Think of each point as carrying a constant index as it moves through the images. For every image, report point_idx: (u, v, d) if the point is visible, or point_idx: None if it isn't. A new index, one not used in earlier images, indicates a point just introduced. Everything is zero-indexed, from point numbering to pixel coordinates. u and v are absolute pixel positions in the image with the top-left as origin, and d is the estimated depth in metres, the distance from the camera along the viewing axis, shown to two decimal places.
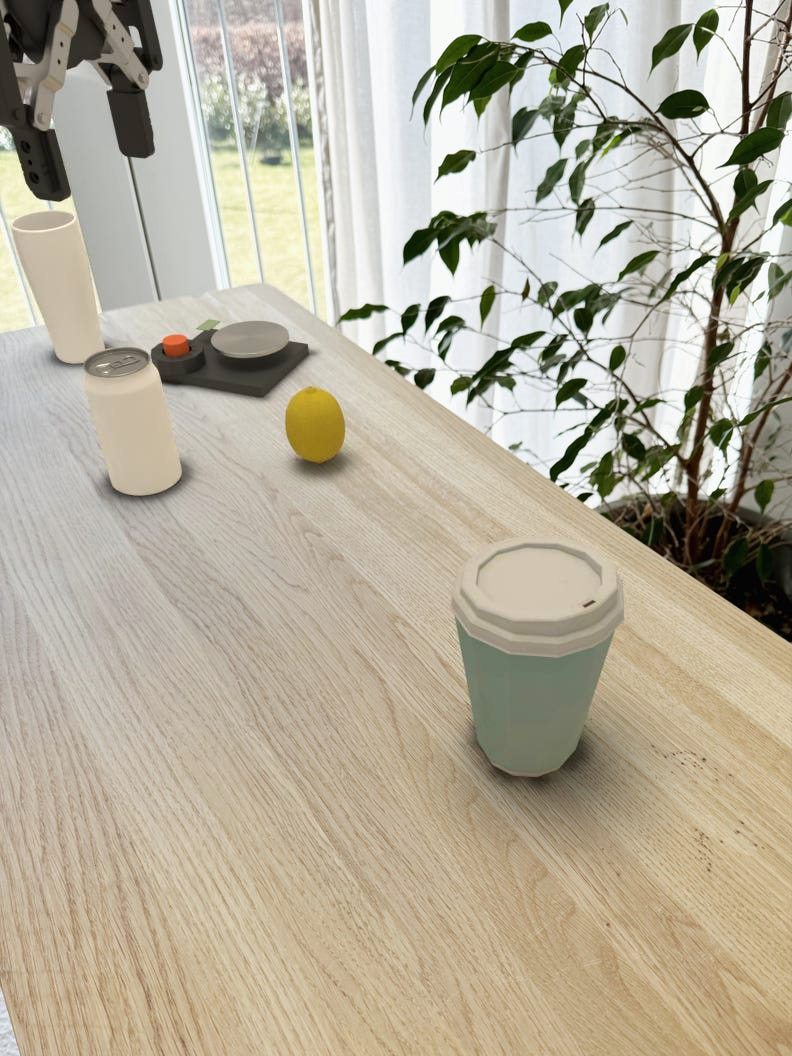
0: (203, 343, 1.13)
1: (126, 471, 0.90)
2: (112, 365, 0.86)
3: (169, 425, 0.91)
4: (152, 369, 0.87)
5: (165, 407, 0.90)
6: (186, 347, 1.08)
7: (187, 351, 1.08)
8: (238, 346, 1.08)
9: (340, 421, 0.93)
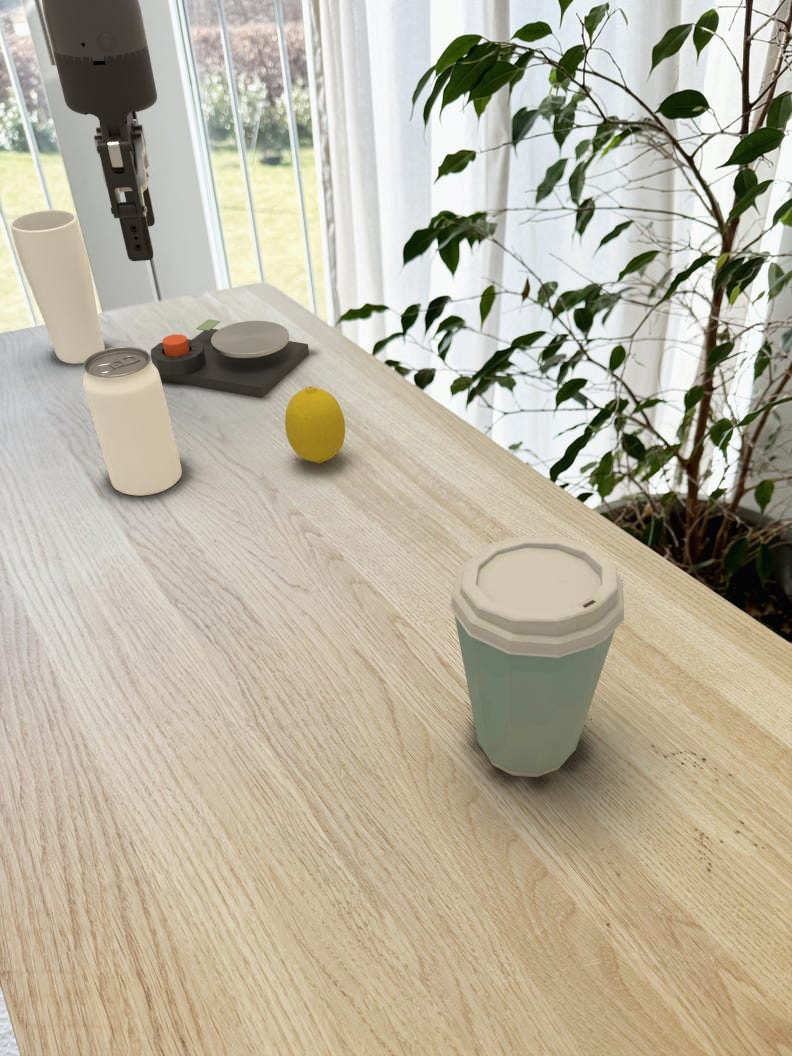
0: (203, 343, 1.13)
1: (126, 471, 0.90)
2: (112, 365, 0.86)
3: (169, 425, 0.91)
4: (152, 369, 0.87)
5: (165, 407, 0.90)
6: (186, 347, 1.08)
7: (187, 351, 1.08)
8: (238, 346, 1.08)
9: (340, 421, 0.93)
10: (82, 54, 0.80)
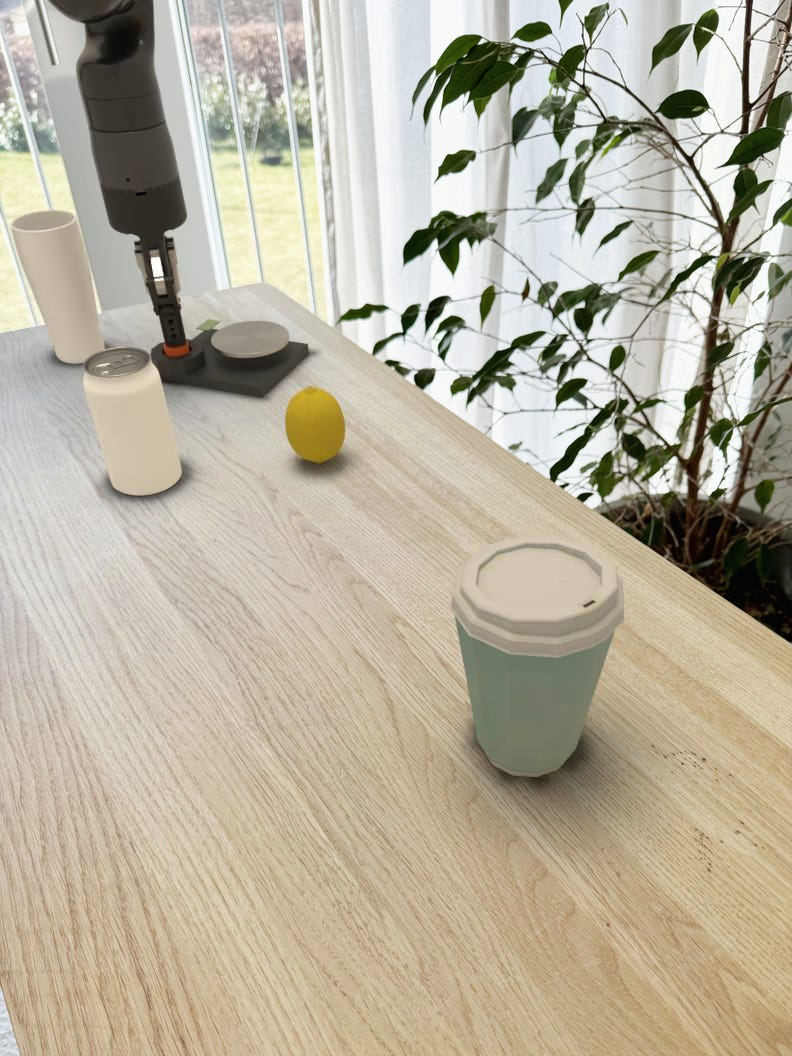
0: (203, 343, 1.13)
1: (126, 471, 0.90)
2: (112, 365, 0.86)
3: (169, 425, 0.91)
4: (152, 369, 0.87)
5: (165, 407, 0.90)
6: (187, 351, 1.08)
7: None
8: (238, 346, 1.08)
9: (340, 421, 0.93)
10: (127, 187, 0.94)
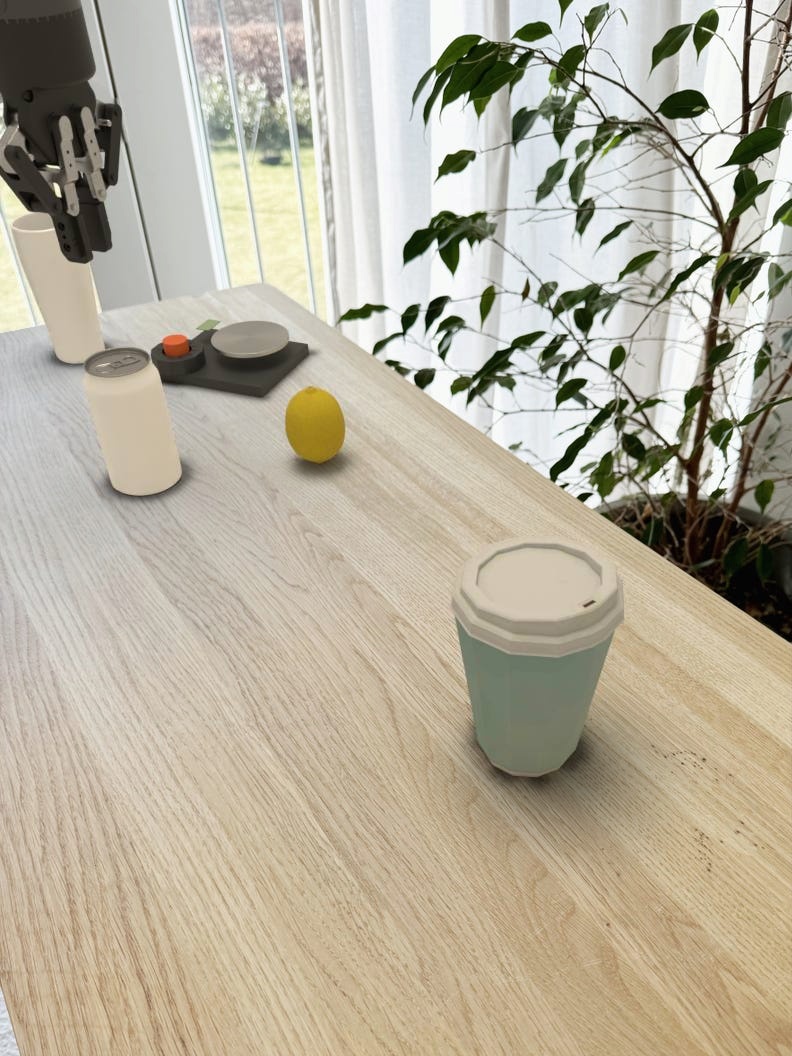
0: (203, 343, 1.13)
1: (126, 471, 0.90)
2: (112, 365, 0.86)
3: (169, 425, 0.91)
4: (152, 369, 0.87)
5: (165, 407, 0.90)
6: (186, 347, 1.08)
7: (187, 351, 1.08)
8: (238, 346, 1.08)
9: (340, 421, 0.93)
10: None
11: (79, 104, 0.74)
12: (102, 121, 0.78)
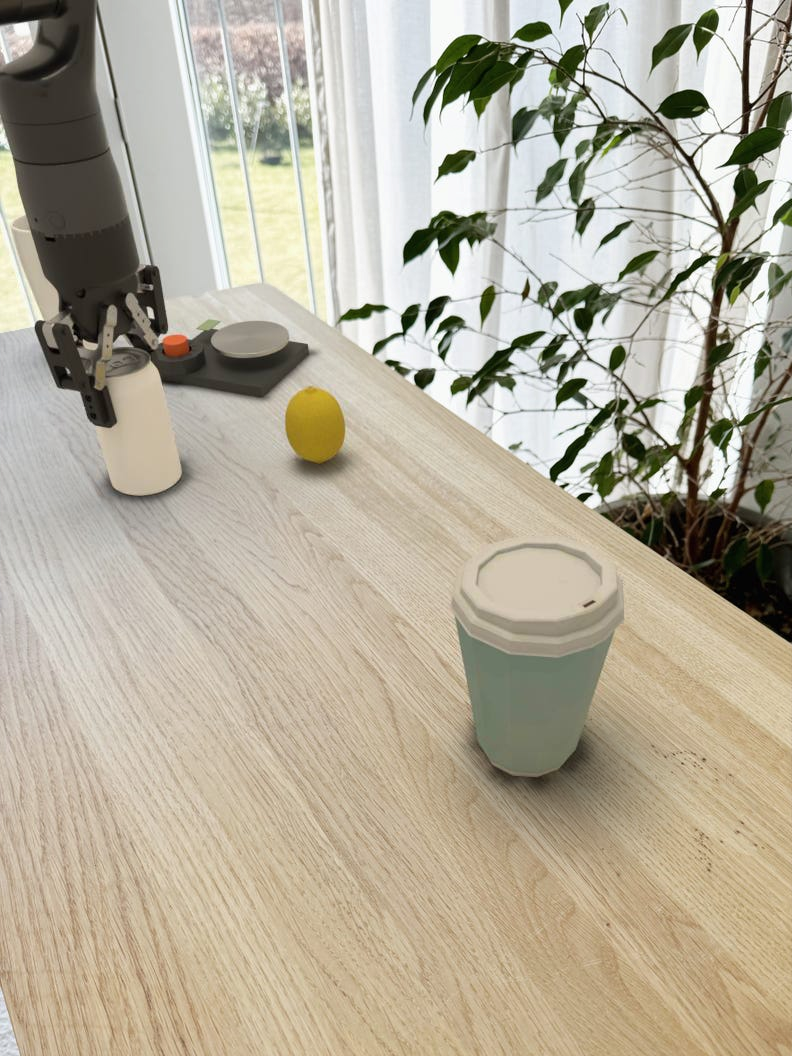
0: (203, 343, 1.13)
1: (126, 471, 0.90)
2: (112, 365, 0.86)
3: (169, 425, 0.91)
4: (152, 369, 0.87)
5: (165, 407, 0.90)
6: (186, 347, 1.08)
7: (187, 351, 1.08)
8: (238, 346, 1.08)
9: (340, 421, 0.93)
10: (36, 228, 0.76)
11: (124, 289, 0.84)
12: (145, 286, 0.87)
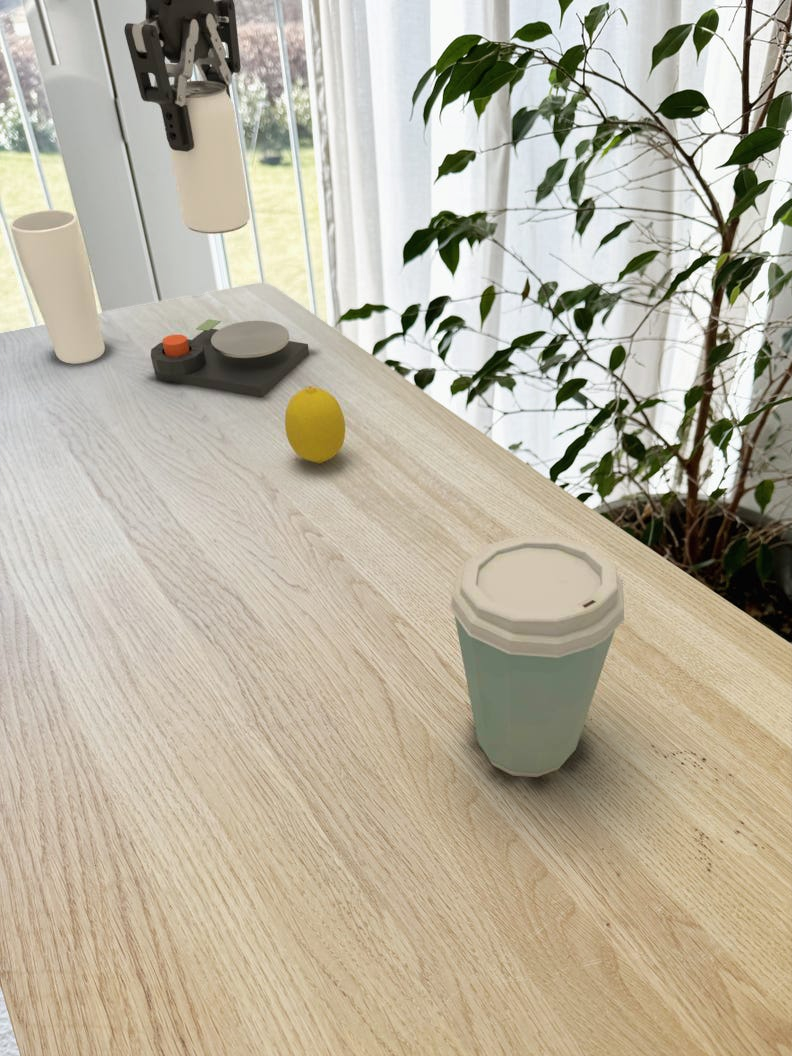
0: (203, 343, 1.13)
1: (201, 203, 0.95)
2: (190, 92, 0.91)
3: (241, 161, 0.95)
4: (227, 97, 0.92)
5: (238, 141, 0.94)
6: (186, 347, 1.08)
7: (187, 351, 1.08)
8: (238, 346, 1.08)
9: (340, 421, 0.93)
10: None
11: (204, 12, 0.88)
12: (221, 18, 0.92)
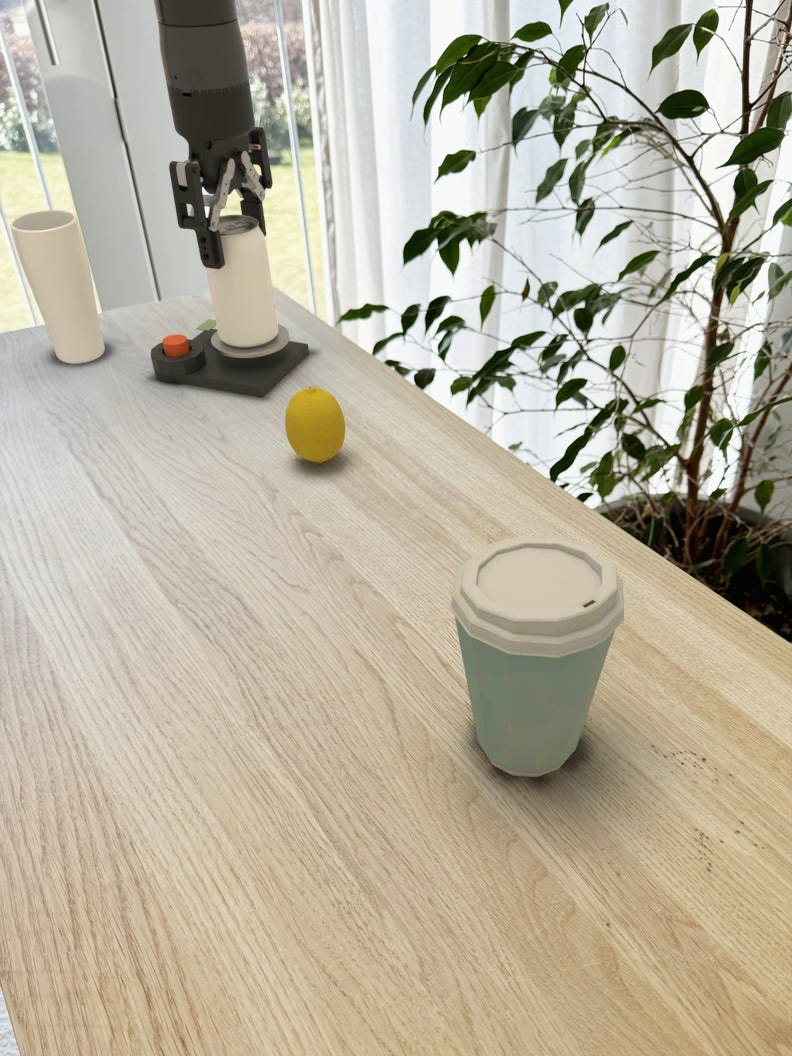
0: (203, 343, 1.13)
1: (235, 322, 1.05)
2: (227, 227, 1.02)
3: (271, 284, 1.06)
4: (260, 231, 1.02)
5: (269, 267, 1.05)
6: (186, 347, 1.08)
7: (187, 351, 1.08)
8: None
9: (340, 421, 0.93)
10: (175, 85, 0.91)
11: (239, 148, 0.98)
12: (254, 146, 1.01)
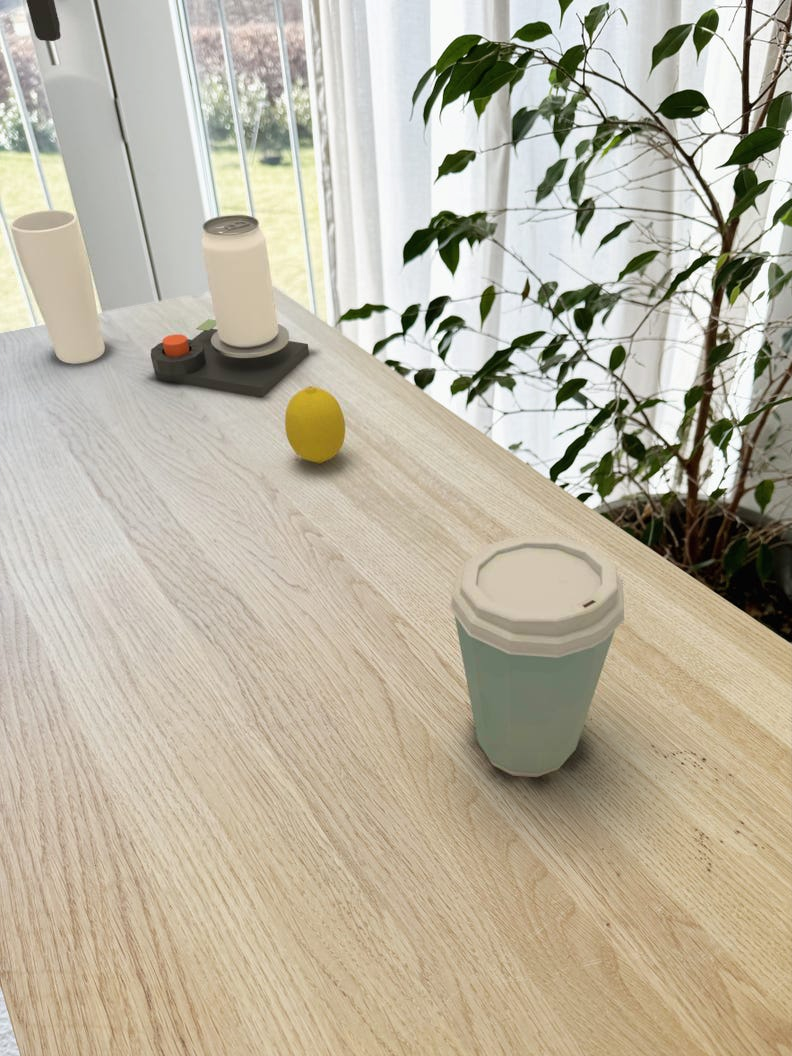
0: (203, 343, 1.13)
1: (235, 322, 1.05)
2: (227, 227, 1.02)
3: (271, 284, 1.06)
4: (260, 231, 1.02)
5: (269, 267, 1.05)
6: (186, 347, 1.08)
7: (187, 351, 1.08)
8: None
9: (340, 421, 0.93)
10: None
11: None
12: None
